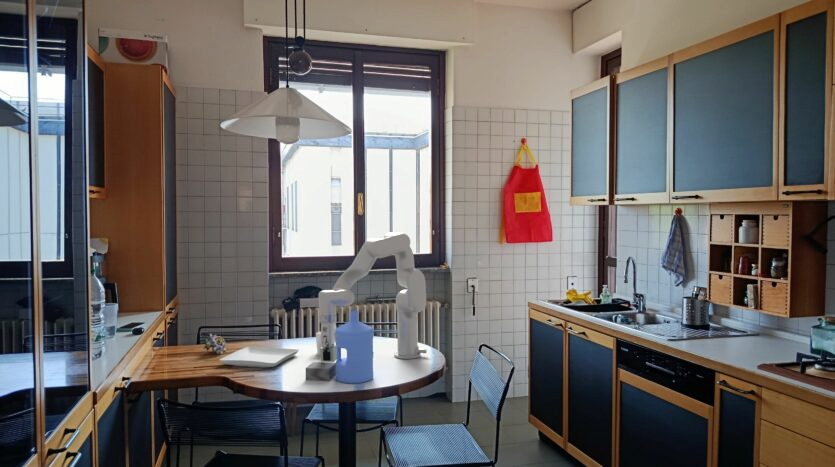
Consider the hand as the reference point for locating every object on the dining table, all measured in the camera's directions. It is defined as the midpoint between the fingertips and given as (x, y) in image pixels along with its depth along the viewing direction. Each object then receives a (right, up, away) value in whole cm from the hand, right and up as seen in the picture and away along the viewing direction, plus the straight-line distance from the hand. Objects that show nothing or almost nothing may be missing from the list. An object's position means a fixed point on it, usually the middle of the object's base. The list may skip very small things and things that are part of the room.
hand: (329, 358), depth 262 cm
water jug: (+13, -5, -18) cm, 23 cm away
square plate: (-33, -4, +11) cm, 35 cm away
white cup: (-6, -3, +25) cm, 26 cm away
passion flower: (-60, -3, +24) cm, 65 cm away
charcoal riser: (-1, -5, -16) cm, 17 cm away
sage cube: (0, -1, 0) cm, 1 cm away
